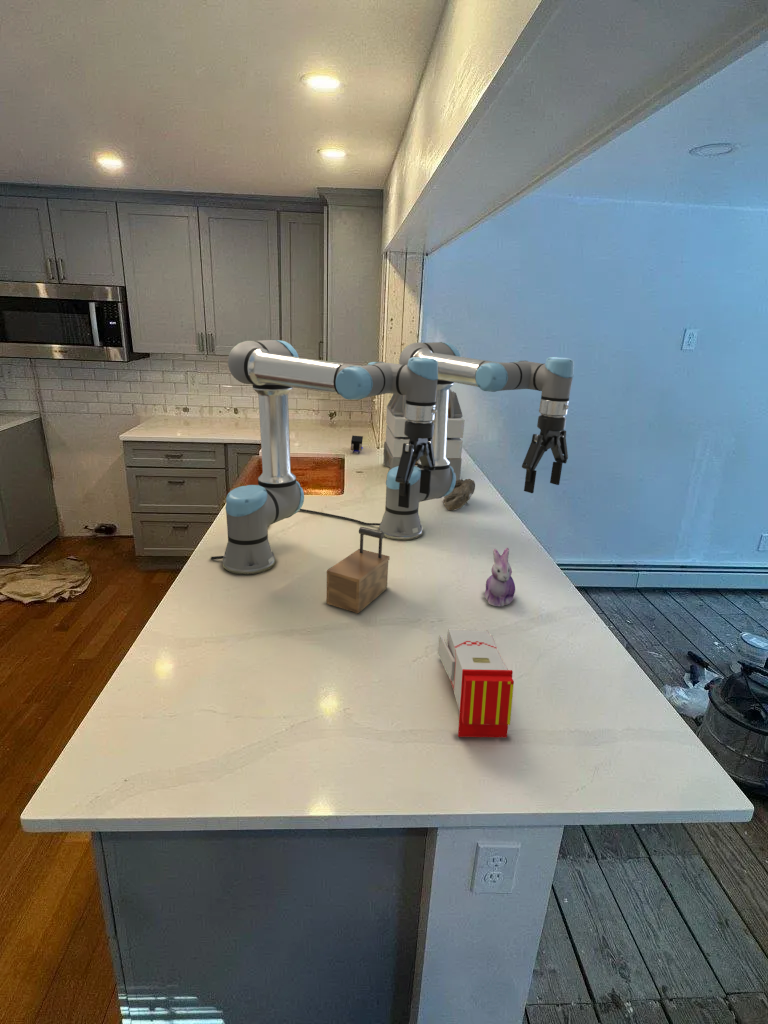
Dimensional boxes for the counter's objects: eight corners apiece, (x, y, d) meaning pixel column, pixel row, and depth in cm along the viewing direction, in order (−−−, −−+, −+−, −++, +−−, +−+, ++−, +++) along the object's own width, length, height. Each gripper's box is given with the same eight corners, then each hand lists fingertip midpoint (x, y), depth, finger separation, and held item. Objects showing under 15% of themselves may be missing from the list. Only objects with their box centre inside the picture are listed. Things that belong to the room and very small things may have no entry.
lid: (359, 551, 162) (360, 523, 159) (389, 559, 158) (391, 530, 155) (326, 573, 148) (326, 543, 145) (359, 583, 144) (360, 551, 141)
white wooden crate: (382, 463, 289) (386, 382, 275) (445, 464, 293) (451, 384, 279) (390, 482, 257) (394, 392, 243) (460, 483, 261) (468, 394, 247)
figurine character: (362, 457, 305) (363, 447, 318) (362, 443, 301) (363, 434, 315) (350, 456, 304) (351, 447, 318) (350, 443, 301) (351, 434, 314)
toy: (488, 613, 130) (523, 677, 101) (484, 667, 133) (517, 744, 104) (435, 612, 130) (455, 676, 101) (432, 666, 133) (451, 743, 103)
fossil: (439, 484, 243) (468, 465, 238) (451, 501, 246) (481, 483, 241) (438, 506, 224) (470, 486, 219) (452, 524, 226) (484, 505, 221)
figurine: (497, 611, 151) (503, 559, 146) (474, 594, 159) (479, 545, 154) (524, 604, 155) (532, 554, 150) (501, 588, 163) (507, 540, 158)
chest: (357, 580, 165) (357, 552, 162) (387, 588, 161) (388, 560, 158) (326, 603, 151) (326, 574, 148) (358, 613, 147) (359, 583, 144)
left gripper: (412, 430, 132) (407, 516, 139) (450, 415, 153) (444, 490, 160) (384, 426, 135) (380, 510, 142) (425, 412, 156) (420, 485, 163)
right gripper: (539, 421, 147) (528, 499, 154) (587, 413, 163) (575, 483, 170) (515, 416, 152) (505, 492, 159) (564, 409, 168) (553, 477, 176)
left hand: (414, 500), depth 151 cm, fingers open, 13 cm apart
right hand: (541, 487), depth 165 cm, fingers open, 13 cm apart
